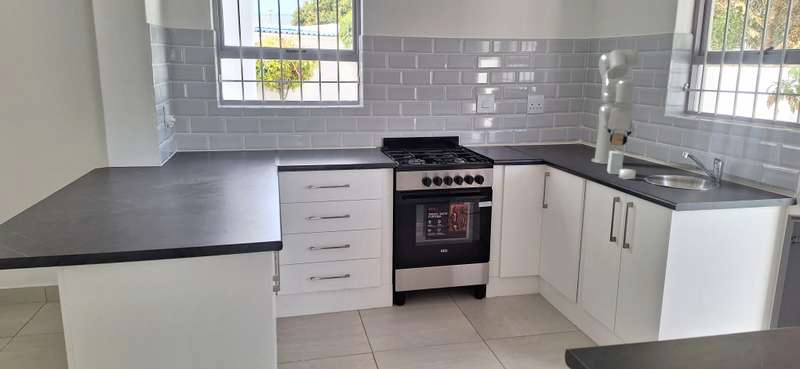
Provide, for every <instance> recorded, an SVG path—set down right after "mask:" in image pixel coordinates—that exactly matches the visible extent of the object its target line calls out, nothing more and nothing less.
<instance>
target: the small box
mask: <svg viewBox="0 0 800 369" xmlns="http://www.w3.org/2000/svg"><path fill="white" fill-rule="evenodd" d="M624 155H625V153H623V152H622V151H616V150H614V151H609V159H608V164H607V168H606V171H607V173H608V174H609V175H618V176H619V173H620V169H623V162H624V157H625V156H624Z"/></svg>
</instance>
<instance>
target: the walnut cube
mask: <svg viewBox="0 0 800 369" xmlns="http://www.w3.org/2000/svg"><path fill="white" fill-rule="evenodd" d="M624 135H625V134H621V133H617V134H613V135H612V143H611V145H615V146H620V147H622V146H624V145H623V138H624Z"/></svg>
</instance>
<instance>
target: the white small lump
mask: <svg viewBox="0 0 800 369" xmlns="http://www.w3.org/2000/svg"><path fill="white" fill-rule="evenodd" d="M636 174H637V172H636V170H635V169H633V168H632V169H631V168H630V169H629V168H622V169H620V173H619V175H618V178H619V179H621V178H622V180H626V179H634V180H636Z"/></svg>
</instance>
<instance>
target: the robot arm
mask: <svg viewBox="0 0 800 369" xmlns="http://www.w3.org/2000/svg"><path fill="white" fill-rule="evenodd" d="M639 56H640V55H639V53H638V51H637V50H634V49H618V48H617V49H614V50H612V51H611V52H609V53H604V54H602V55H601V56H599V60H598V69H599V74H600V77H601V81H602V83H601V99H602V101H603V103H604V104H602V105H601V106H599V109H598V129H597V138H596V147H595V154H594V158H591V162H593V163H595V164H602V165H608V159H609V151H616V149H615V148H616V145H611V143H612V135H613V134H618V131H623V133H624V134H623V135H624V138H623V146H625V145H626V144H627V143H628V137H629V136H630V135H631V134H632V133H634V132H636V131H637V129H636V127H635V126H634V124H633V119H634V115H635V114H634V112H635V110H634V108H635V106H634V100H635V98H634V97H635V94H634V91H635V88H636V85H635V82H634V81H633V80H632V79H620V78H623V77H625V76H626V75H627V74H628V73H629V71H630V70H632V69H634V68H635V67H636V66H637V65H638V63H639V59H640V57H639Z"/></svg>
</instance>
